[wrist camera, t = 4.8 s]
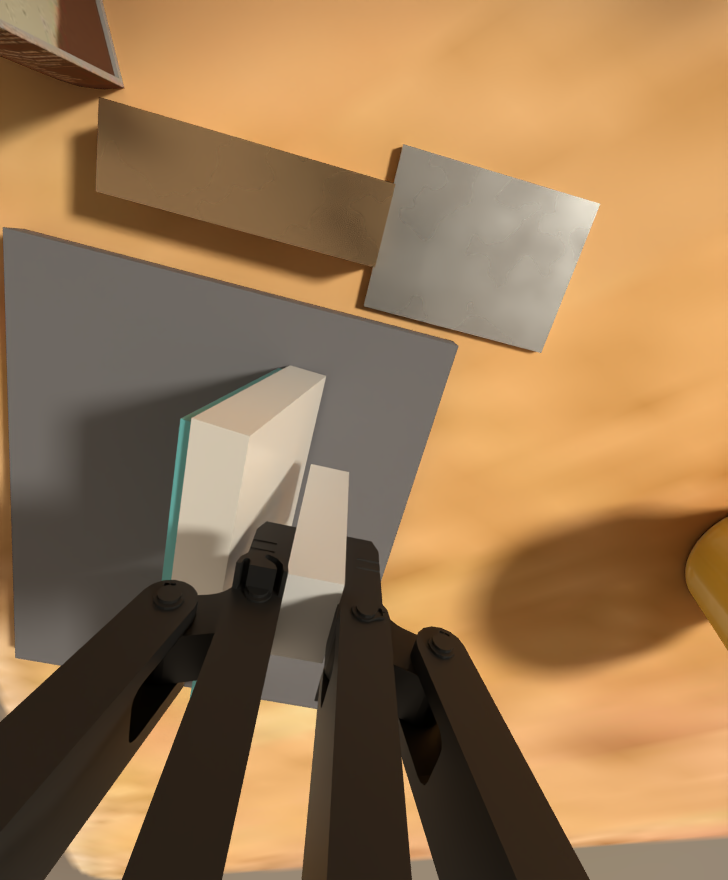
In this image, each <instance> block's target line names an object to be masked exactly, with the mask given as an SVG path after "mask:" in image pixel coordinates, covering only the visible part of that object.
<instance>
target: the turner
mask: <svg viewBox="0 0 728 880" xmlns="http://www.w3.org/2000/svg"><path fill="white" fill-rule="evenodd" d="M96 192H99V193H103V194H106V195H110V196H114V197H117V198H121V199H125V200H128V201H132V202H136V203H139V204H143V205H147V206H150V207H154V208H158V209H161V210H165V211H169V212H172V213H176V214H180V215H183V216H187V217H191V218H194V219H198V220H202V221H205V222H209V223H213V224H216V225H220V226H224V227H227V228H231V229H235V230H238V231H242V232H246V233H249V234H253V235H257V236H260V237H264V238H268V239H271V240H275V241H279V242H282V243H286V244H290V245H293V246H297V247H301V248H304V249H308V250H312V251H315V252H319V253H323V254H326V255H330V256H334V257H337V258H341V259H345V260H348V261H352V262H356V263H359V264H363V265H367V266H370V267H373V269H372V273H371V277H370V281H369V285H368V289H367V293H366V297H365V301H364V306H365V307H369V308H372V309H376V310H380V311H384V312H388V313H391V314H395V315H399V316H403V317H407V318H410V319H414V320H418V321H422V322H426V323H429V324H433V325H437V326H441V327H445V328H448V329H452V330H456V331H460V332H464V333H467V334H471V335H475V336H479V337H483V338H486V339H490V340H494V341H498V342H502V343H505V344H509V345H513V346H517V347H521V348H524V349H528V350H532V351H536V352H540V353H541V352H542V349H543V347H544V344H545V342H546V339H547V337H548V334H549V332H550V329H551V327H552V324H553V322H554V319H555V317H556V314H557V312H558V309H559V306H560V304H561V301H562V299H563V296H564V294H565V291H566V289H567V286H568V284H569V281H570V279H571V276H572V274H573V271H574V269H575V266H576V264H577V261H578V259H579V256H580V254H581V251H582V249H583V246H584V244H585V241H586V239H587V236H588V233H589V231H590V228H591V226H592V223H593V221H594V218H595V216H596V213H597V211H598V208H599V206H600V204H599V203H595V202H592V201H589V200H586V199H582V198H579V197H576V196H572V195H569V194H566V193H562V192H559V191H556V190H553V189H549V188H546V187H543V186H539V185H536V184H533V183H529V182H526V181H523V180H520V179H516V178H513V177H510V176H506V175H503V174H500V173H496V172H493V171H490V170H487V169H483V168H480V167H477V166H473V165H470V164H467V163H463V162H460V161H457V160H454V159H450V158H447V157H444V156H440V155H437V154H434V153H430V152H427V151H424V150H421V149H417V148H414V147H411V146H407V145H404V144H403V146H402V150H401V155H400V159H399V163H398V167H397V171H396V175H395V179H394V183H390V182H387V181H383V180H380V179H377V178H373V177H370V176H366V175H363V174H359V173H356V172H353V171H349V170H346V169H342V168H339V167H336V166H332V165H329V164H325V163H322V162H319V161H315V160H312V159H308V158H305V157H302V156H298V155H295V154H291V153H288V152H284V151H281V150H278V149H274V148H271V147H267V146H264V145H261V144H257V143H254V142H250V141H247V140H244V139H240V138H237V137H233V136H230V135H227V134H223V133H220V132H216V131H213V130H209V129H206V128H203V127H199V126H196V125H192V124H189V123H186V122H182V121H179V120H175V119H172V118H169V117H165V116H162V115H158V114H155V113H152V112H148V111H145V110H141V109H138V108H135V107H131V106H128V105H124V104H121V103H117V102H114V101H111V100H107V99H104V98H100V97H99V107H98V136H97V164H96Z"/></svg>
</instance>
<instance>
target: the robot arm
mask: <svg viewBox="0 0 728 880" xmlns="http://www.w3.org/2000/svg"><path fill="white" fill-rule="evenodd" d="M348 487H349V472H346V471H341V470H337V469H332V468H327V467H323V466H318V465H314V464H311V466H310V471H309V475H308V479H307V484H306V488H305V493H304V497H303V502H302V506H301V510H300V515H299V519H298V524H297V527H293V526H288V525H283V524H278V523H273V522H268V521H266V522H265V523H264V524H262V525H261V526H260V527H259V528H257V530H256V533H255V536H254V538H253V541H252V544H251V546H250V549H249V552H248V553H246V554H244V555H242V556H240V558H239V559H238V560H237V562H236V566H235V572H234V578H233V583H232V587H231V588H229V589H228V590H226V591H223V592H220V593H216V594H209V595H198V593H197V592H196V590H195V589H194V587H193V586H191V585H189V584H188V583H186V582H183V581H178V580H163V581H160V582H156V583H153V584H151V585H150V586H148V587H147V588H145V589H144V590H143V591H142V592H141V593H140V594H139V595H137V596H136V597H135V598H134V599H133V600H132V601H131V602H130V603H129V604H128V605H127V606H126V607H124V608H123V609H122V610H121V611H120V612H119V613H118V614H117V615H116V616H115V617H114V618H113V619H111V620H110V621H109V622H108V623H107V624H106V625H105V626H104V627H103V628H102V629H101V630H100V631H98V632H97V633H96V634H95V635H94V636H93V637H92V638H91V639H90V640H89V641H88V642H87V643H85V644H84V645H83V646H82V647H81V648H80V649H79V650H78V651H77V652H76V653H75V654H74V655H72V656H71V657H70V658H69V659H68V660H67V661H66V662H65V663H64V664H63V665H62V666H61V667H59V668H58V669H57V670H56V671H55V672H54V673H53V674H52V675H51V676H50V677H49V678H47V679H46V680H45V681H44V682H43V683H42V684H41V685H40V686H39V687H38V688H37V689H36V690H34V691H33V692H32V693H31V694H30V695H29V696H28V697H27V698H26V699H25V700H24V701H23V702H21V703H20V704H19V705H18V706H17V707H16V708H15V709H14V710H13V711H12V712H11V713H10V714H8V715H7V716H6V717H5V718H4V719H3V720H2V721H1V722H0V880H44V879H45V878H46V877H47V875H48V874H49V872H50V871H51V869H52V868H53V867H54V865H55V864H56V863H57V861H58V860H59V858H60V857H61V856H62V854H63V853H64V852H65V850H66V849H67V847H68V846H69V845H70V843H71V842H72V840H73V839H74V838H75V836H76V835H77V834H78V832H79V831H80V829H81V828H82V827H83V825H84V824H85V822H86V821H87V820H88V818H89V817H90V815H91V814H92V813H93V811H94V810H95V809H96V807H97V806H98V804H99V803H100V802H101V800H102V799H103V797H104V796H105V795H106V793H107V792H108V790H109V789H110V788H111V786H112V785H113V784H114V782H115V781H116V779H117V778H118V777H119V775H120V774H121V772H122V771H123V770H124V768H125V767H126V766H127V764H128V763H129V761H130V760H131V759H132V757H133V756H134V754H135V753H136V752H137V750H138V749H139V747H140V746H141V745H142V743H143V742H144V741H145V739H146V738H147V736H148V735H149V734H150V732H151V731H152V729H153V728H154V727H155V725H156V724H157V722H158V721H159V720H160V718H161V717H162V716H163V714H164V713H165V711H166V710H167V709H168V707H169V706H170V704H171V703H172V702H173V700H174V699H175V698H176V696H177V695H178V693H179V692H180V691H181V689H182V688H183V686H184V684H185V682H189V681H196V684H195V687H194V689H193V692H192V695H191V697H190V700H189V703H188V705H187V708H186V711H185V713H184V716H183V719H182V721H181V724H180V727H179V729H178V732H177V735H176V737H175V740H174V743H173V745H172V748H171V751H170V753H169V756H168V758H167V761H166V764H165V766H164V769H163V772H162V774H161V777H160V780H159V782H158V785H157V788H156V790H155V793H154V796H153V798H152V801H151V804H150V806H149V809H148V812H147V814H146V817H145V820H144V822H143V825H142V828H141V830H140V833H139V835H138V838H137V841H136V843H135V846H134V849H133V851H132V854H131V857H130V859H129V862H128V865H127V867H126V870H125V873H124V875H123V878H122V880H222V876H223V872H224V867H225V863H226V858H227V853H228V849H229V844H230V839H231V835H232V830H233V826H234V821H235V816H236V812H237V807H238V802H239V798H240V793H241V788H242V784H243V779H244V775H245V770H246V765H247V761H248V756H249V751H250V747H251V742H252V738H253V733H254V728H255V724H256V719H257V714H258V710H259V705H260V700H261V696H262V691H263V687H264V682H265V677H266V673H267V668H268V663H269V659H270V655H276V656H282V657H287V658H293V659H299V660H305V661H310V662H316V663H323V659H324V656H325V662H324V668H323V672H322V675H321V679H320V682H319V685H318V689H317V692H316V696H315V699H314V701H318V707H317V718H316V729H315V740H314V751H313V761H312V772H311V783H310V794H309V805H308V816H307V827H306V837H305V848H304V859H303V870H302V880H412V876H411V864H410V852H409V841H408V829H407V817H406V805H405V794H404V782H403V770H402V760H403V764H404V767H405V770H406V773H407V777H408V780H409V783H410V786H411V790H412V793H413V796H414V799H415V803H416V806H417V809H418V812H419V816H420V819H421V822H422V825H423V829H424V832H425V835H426V838H427V842H428V845H429V848H430V851H431V855H432V858H433V861H434V864H435V868H436V871H437V874H438V877H439V880H590V879H589V877H588V876H587V874H586V872H585V870H584V868H583V866H582V864H581V863H580V861H579V859H578V857H577V855H576V853H575V851H574V850H573V848H572V846H571V844H570V842H569V840H568V838H567V837H566V835H565V833H564V831H563V829H562V827H561V825H560V824H559V822H558V820H557V818H556V816H555V814H554V812H553V810H552V809H551V807H550V805H549V803H548V801H547V799H546V797H545V796H544V794H543V792H542V790H541V788H540V786H539V784H538V783H537V781H536V779H535V777H534V775H533V773H532V771H531V770H530V768H529V766H528V764H527V762H526V760H525V758H524V757H523V755H522V753H521V751H520V749H519V747H518V745H517V744H516V742H515V740H514V738H513V736H512V734H511V732H510V730H509V729H508V727H507V725H506V723H505V721H504V719H503V717H502V716H501V714H500V712H499V710H498V708H497V706H496V704H495V703H494V701H493V699H492V697H491V695H490V693H489V691H488V690H487V688H486V686H485V684H484V682H483V680H482V678H481V677H480V675H479V673H478V671H477V669H476V667H475V665H474V664H473V662H472V660H471V658H470V656H469V654H468V652H467V651H466V649H465V647H464V645H463V644H462V643H461V641H460V640H459V639H458V638H457V637H456V636H455V635H453V634H452V633H451V632H449V631H447V630H444V629H442V628H438V627H427V628H423V629H422V630H421V631H419V632H418V635H416V634H414V633H412V632H409V631H407V630H405V629H403V628H401V627H399V626H398V625H396V624H395V623H394V622H392V621H391V620H390V618H389V614H388V611H387V609H386V608H385V607H384V606H383V605H382V593H381V579H380V565H379V552H378V550H377V549H376V547H375V546H374V544H373V542H372V541H367V540H362V539H357V538H352V537H347V513H348ZM401 757H402V758H401Z"/></svg>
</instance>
